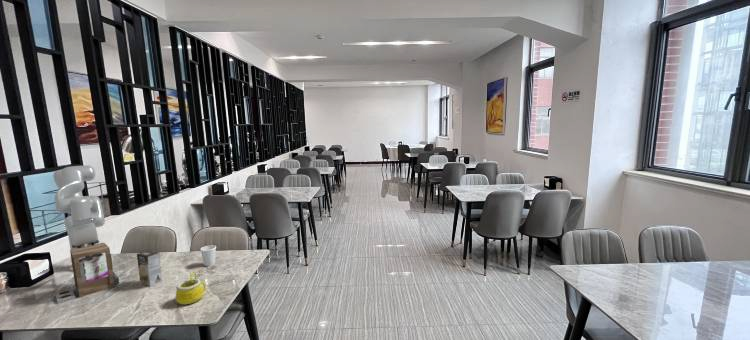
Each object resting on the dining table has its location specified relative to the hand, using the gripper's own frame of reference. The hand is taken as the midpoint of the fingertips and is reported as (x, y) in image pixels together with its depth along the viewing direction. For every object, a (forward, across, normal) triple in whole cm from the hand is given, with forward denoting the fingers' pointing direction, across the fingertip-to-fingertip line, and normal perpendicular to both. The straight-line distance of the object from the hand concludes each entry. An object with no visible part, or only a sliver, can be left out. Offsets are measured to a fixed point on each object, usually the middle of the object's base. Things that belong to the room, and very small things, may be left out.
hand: (87, 256), depth 169 cm
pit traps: (+14, +11, +12) cm, 21 cm away
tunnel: (+14, 0, +12) cm, 18 cm away
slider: (+13, -1, +7) cm, 15 cm away
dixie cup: (+15, -49, +28) cm, 58 cm away
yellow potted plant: (+16, -27, +64) cm, 71 cm away
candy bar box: (+14, 0, +12) cm, 18 cm away
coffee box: (+15, -20, +28) cm, 37 cm away
